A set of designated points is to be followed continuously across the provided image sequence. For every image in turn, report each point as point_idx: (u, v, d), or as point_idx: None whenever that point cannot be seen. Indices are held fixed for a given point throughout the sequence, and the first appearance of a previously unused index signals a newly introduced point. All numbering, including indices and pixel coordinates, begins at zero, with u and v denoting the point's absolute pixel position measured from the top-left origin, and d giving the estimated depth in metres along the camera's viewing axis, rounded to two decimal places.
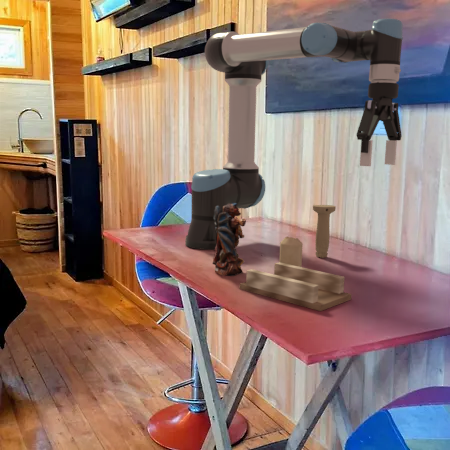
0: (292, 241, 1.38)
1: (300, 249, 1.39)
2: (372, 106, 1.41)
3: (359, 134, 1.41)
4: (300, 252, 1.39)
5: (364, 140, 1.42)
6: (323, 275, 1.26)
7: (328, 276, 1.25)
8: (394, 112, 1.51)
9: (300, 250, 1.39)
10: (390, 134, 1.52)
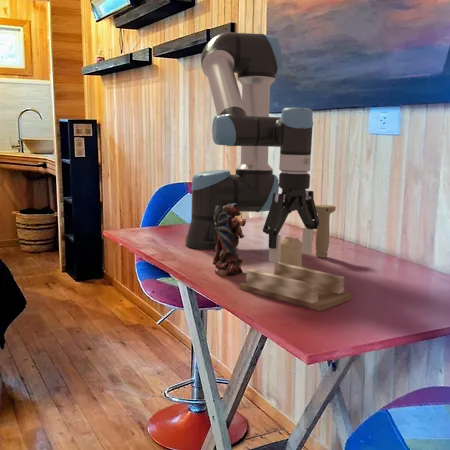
0: (292, 241, 1.38)
1: (300, 249, 1.39)
2: (279, 200, 1.33)
3: (265, 230, 1.32)
4: (300, 252, 1.39)
5: (271, 235, 1.33)
6: (323, 275, 1.26)
7: (328, 276, 1.25)
8: (309, 200, 1.42)
9: (300, 250, 1.39)
10: (306, 223, 1.44)
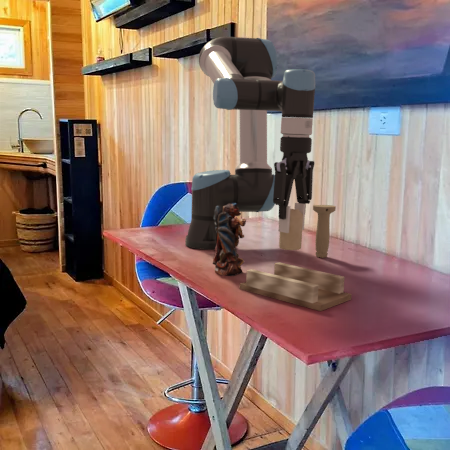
0: (293, 212, 1.38)
1: (301, 220, 1.38)
2: (281, 170, 1.32)
3: (275, 201, 1.34)
4: (301, 223, 1.38)
5: (281, 206, 1.36)
6: (323, 275, 1.26)
7: (328, 276, 1.25)
8: (308, 169, 1.41)
9: (301, 221, 1.38)
10: (299, 194, 1.41)
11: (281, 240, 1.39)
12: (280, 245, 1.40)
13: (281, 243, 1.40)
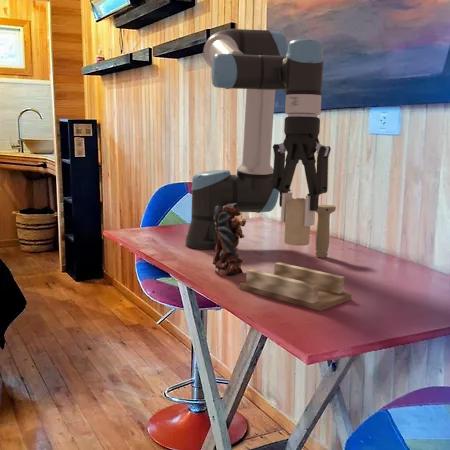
0: (290, 201, 1.23)
1: (291, 211, 1.21)
2: None
3: None
4: (291, 215, 1.21)
5: None
6: (323, 275, 1.26)
7: (328, 276, 1.25)
8: None
9: (291, 212, 1.21)
10: None
11: None
12: None
13: None
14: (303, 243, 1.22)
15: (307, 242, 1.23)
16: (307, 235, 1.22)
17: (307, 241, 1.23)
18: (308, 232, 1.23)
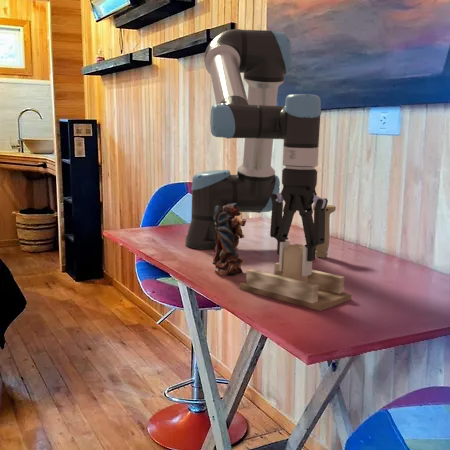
0: (287, 247, 1.25)
1: (289, 258, 1.23)
2: None
3: None
4: (289, 262, 1.23)
5: None
6: (323, 275, 1.26)
7: (328, 276, 1.25)
8: None
9: (289, 260, 1.23)
10: None
11: None
12: None
13: None
14: None
15: None
16: (305, 281, 1.24)
17: None
18: (306, 278, 1.24)
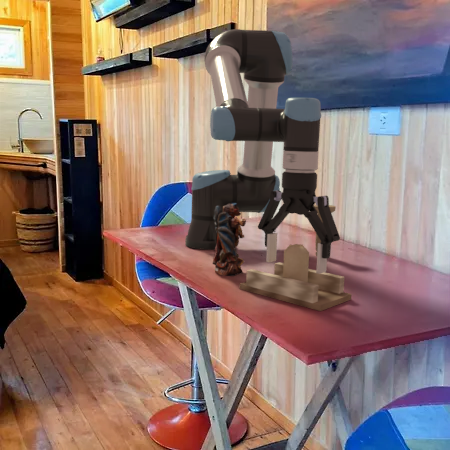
0: (288, 247, 1.25)
1: (289, 258, 1.23)
2: None
3: None
4: (289, 262, 1.23)
5: None
6: (323, 275, 1.26)
7: (328, 276, 1.25)
8: None
9: (289, 260, 1.23)
10: None
11: None
12: None
13: None
14: None
15: None
16: (305, 281, 1.24)
17: None
18: (306, 278, 1.24)
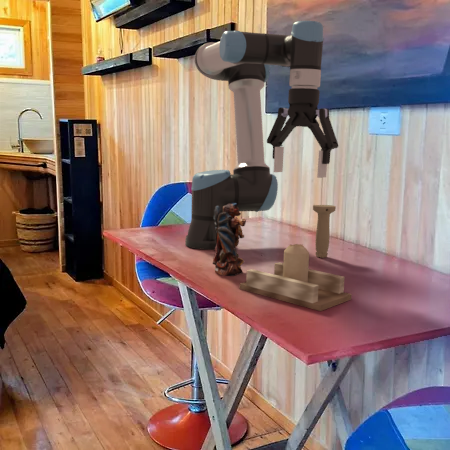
0: (288, 247, 1.25)
1: (289, 258, 1.23)
2: None
3: None
4: (289, 262, 1.23)
5: None
6: (323, 275, 1.26)
7: (328, 276, 1.25)
8: None
9: (289, 260, 1.23)
10: None
11: None
12: None
13: None
14: None
15: None
16: (305, 281, 1.24)
17: None
18: (306, 278, 1.24)
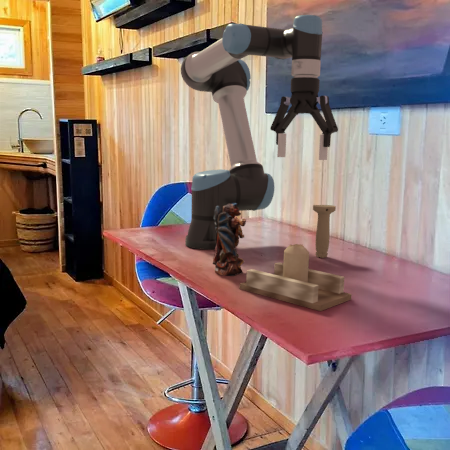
0: (288, 247, 1.25)
1: (289, 258, 1.23)
2: None
3: None
4: (289, 262, 1.23)
5: None
6: (323, 275, 1.26)
7: (328, 276, 1.25)
8: None
9: (289, 260, 1.23)
10: None
11: None
12: None
13: None
14: None
15: None
16: (305, 281, 1.24)
17: None
18: (306, 278, 1.24)
